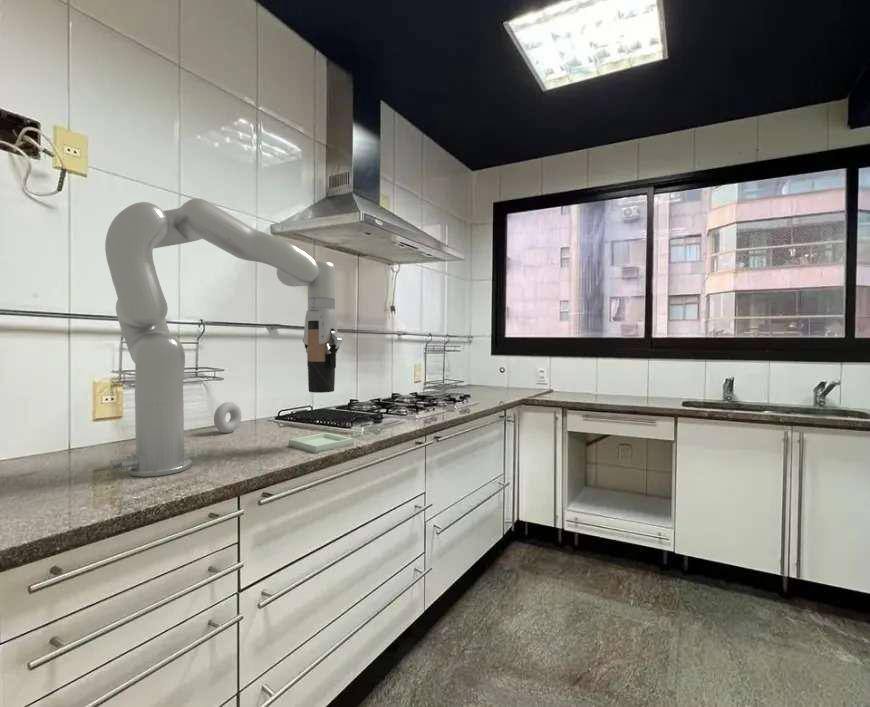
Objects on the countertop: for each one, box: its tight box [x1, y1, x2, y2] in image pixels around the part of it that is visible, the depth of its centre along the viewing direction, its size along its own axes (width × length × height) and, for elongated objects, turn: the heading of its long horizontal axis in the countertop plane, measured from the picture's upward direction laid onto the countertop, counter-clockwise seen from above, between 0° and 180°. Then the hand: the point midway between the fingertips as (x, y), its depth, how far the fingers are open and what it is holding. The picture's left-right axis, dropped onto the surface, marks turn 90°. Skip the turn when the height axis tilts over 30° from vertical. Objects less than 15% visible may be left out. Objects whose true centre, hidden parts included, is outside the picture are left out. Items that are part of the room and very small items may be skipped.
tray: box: [288, 432, 355, 454], centre depth 130 cm, size 13×13×2 cm
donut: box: [213, 401, 242, 434], centre depth 146 cm, size 10×4×10 cm, turn 158°
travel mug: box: [307, 321, 336, 394], centre depth 129 cm, size 8×8×20 cm
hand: (321, 367), depth 129 cm, fingers closed on travel mug, 7 cm apart
